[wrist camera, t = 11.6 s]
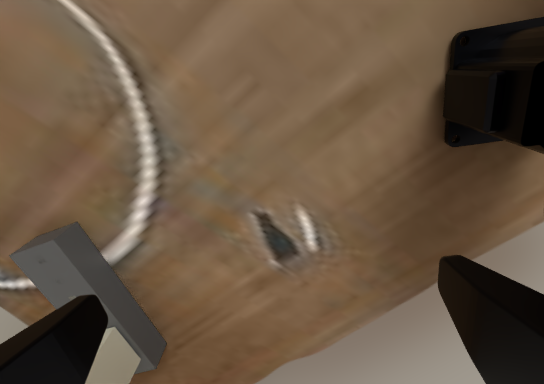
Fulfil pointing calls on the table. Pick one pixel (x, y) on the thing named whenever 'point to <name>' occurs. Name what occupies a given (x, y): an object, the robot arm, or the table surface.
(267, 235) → the table surface
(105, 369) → the cream tall block
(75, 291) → the gray rectangular bar
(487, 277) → the robot arm
